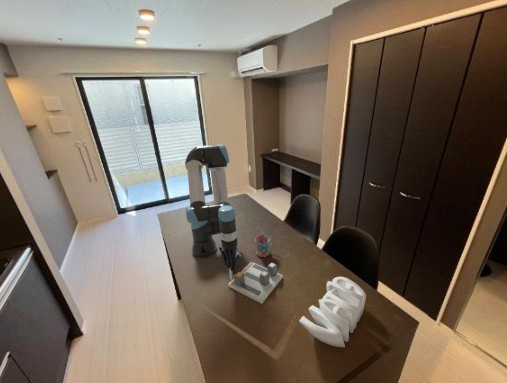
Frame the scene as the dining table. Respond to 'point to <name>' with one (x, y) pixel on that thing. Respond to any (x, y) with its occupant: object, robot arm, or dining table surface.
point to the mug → (263, 245)
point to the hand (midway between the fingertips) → (232, 278)
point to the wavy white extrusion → (336, 312)
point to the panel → (258, 281)
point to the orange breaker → (239, 279)
